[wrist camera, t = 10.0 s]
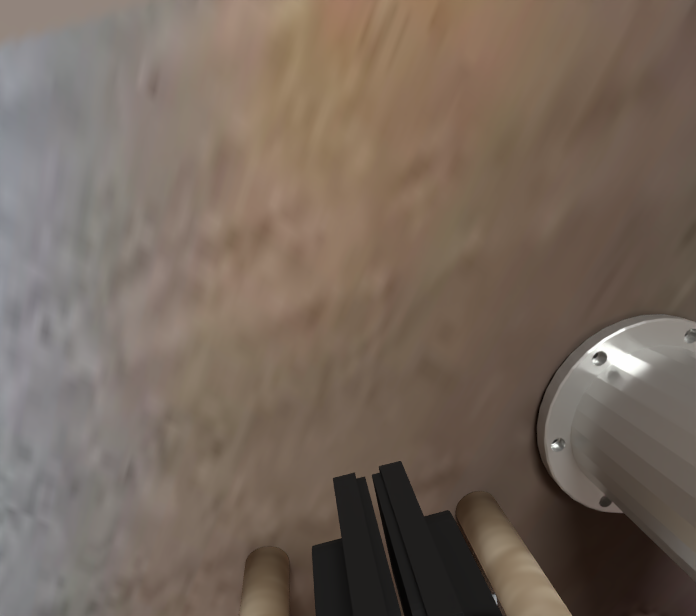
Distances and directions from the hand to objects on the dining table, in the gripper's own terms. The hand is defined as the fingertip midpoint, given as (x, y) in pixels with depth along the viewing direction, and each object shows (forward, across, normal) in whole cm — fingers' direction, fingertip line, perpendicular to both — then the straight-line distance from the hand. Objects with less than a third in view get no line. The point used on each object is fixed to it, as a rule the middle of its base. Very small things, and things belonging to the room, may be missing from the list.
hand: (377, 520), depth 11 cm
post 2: (+13, -6, +13) cm, 20 cm away
